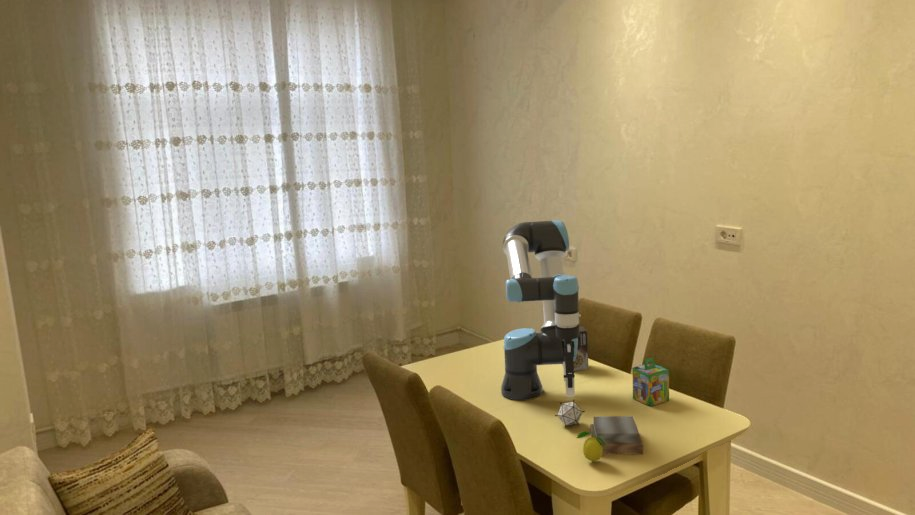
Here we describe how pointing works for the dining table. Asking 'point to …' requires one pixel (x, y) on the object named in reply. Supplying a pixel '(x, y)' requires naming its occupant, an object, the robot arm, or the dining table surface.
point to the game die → (569, 413)
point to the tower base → (620, 446)
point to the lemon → (592, 446)
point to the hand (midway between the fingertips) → (569, 388)
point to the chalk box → (650, 383)
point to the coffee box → (582, 351)
